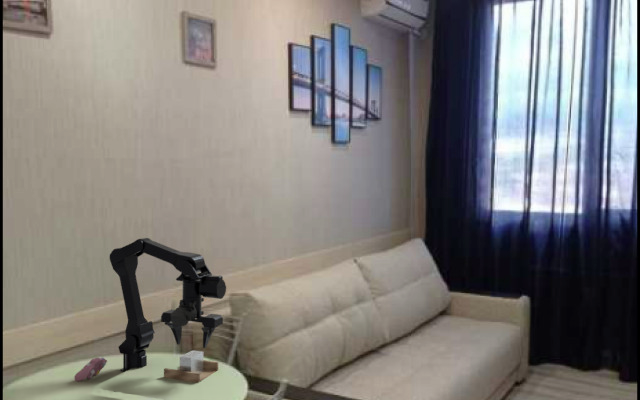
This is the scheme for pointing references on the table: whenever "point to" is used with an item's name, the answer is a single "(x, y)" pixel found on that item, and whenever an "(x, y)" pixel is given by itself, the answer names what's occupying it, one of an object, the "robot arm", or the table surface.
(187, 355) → the metal block
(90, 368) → the pink elongated piece
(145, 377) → the table surface
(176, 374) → the brown wooden tray
